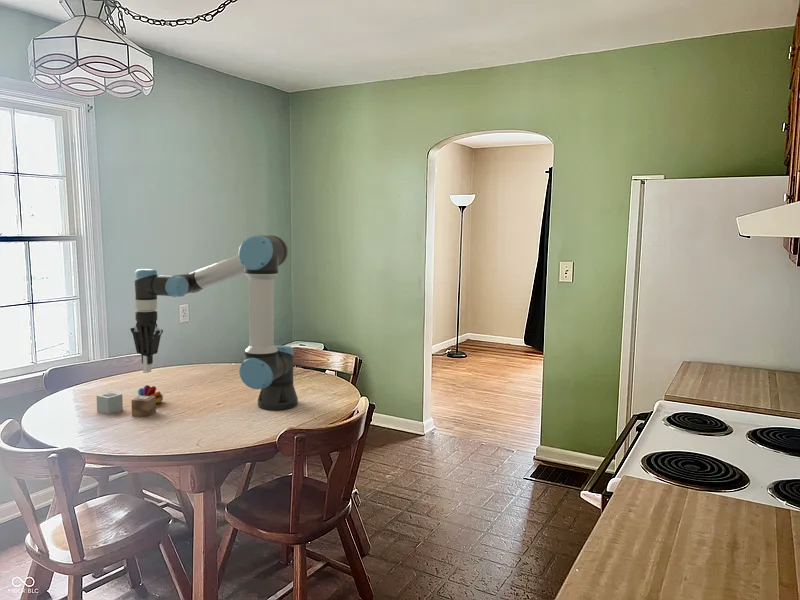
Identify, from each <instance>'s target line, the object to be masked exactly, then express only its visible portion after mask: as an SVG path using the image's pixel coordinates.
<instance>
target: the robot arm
mask: <svg viewBox="0 0 800 600" xmlns="http://www.w3.org/2000/svg"><path fill="white" fill-rule="evenodd" d="M288 255H289V248H288V245H287V243H286V242H285V241H284V239H282V238H281V237H279V236H276V235H262V234H261V235H260V234H259V235H257V234H255V235H253V236H249V237H247V238H246V239H244V241H243V242H241V244H240V246H239V248H238V254H236V255H234V256H231V257H229V258H225V259H223V260H220V261H218V262H216V263H212V264H211V265H210V264H209V265H208V266H205V267H202V268H199V269H196V270H194V271H191V272H189V273H184V274H174V275H160V274H158V273H157V270H156V269H155V268H154V269H153V268H139V269H136V271H135V272H134V280H133V281H134V291H135V297H134V298H135V299H134V301H135V302H134V305H135V306H134V307H135V308H134V309H135V313H134V314H135V321H136V324H135V326H133V327H131V328H130V332H131V334H132V338H133V342H134V346H135V350H136V353H137V354H140V355H141V364H142V373H143V374H148V373H151V372H152V364H153V363H154V362H153V361H154V359H153V357H154V355H156V354H158V352H159V347H160V342H161V336H162V334H163V332H164V329H160V328H159V327H158V324H157V321H158V311H157V309H158V296H161V297H162V296H164V297H172V298H176V297H177V298H179V297H184V296H185V295H187V294H195V293H198V292H201V291H203V290H204V289H206V288H208V287H211V286H214V285H217V284H220V283H223V282H226V281H228V280H231V279H233V278H237V277H239V276H242V275H245V276H246V277H247V278H248V346H247V347H246V348H245V349H244V360H243V361H242V362H241V364H240V366H239V378H240V379H241V381H242V383H243V384H245V386H246V387H248V388H250V389H252V390H253V389H254V390H260V392H259V395H258V398H257V407H259V408H260V409H263V410H268V411H282V410H288V409H293V408H296V407H297V406H298V404H299V399H298V398H299V397H298V395H297V392H296V388H295V386H294V360H295V359H294V358H295V354H294V349H293V347H292V346H290V345H289V346H288V345H277V344H275V342H274V341H275V340H274V339H275V338H274V336H275V335H274V334H275V332H274V329H275V328H274V325H275V324H274V321H275V318H274V317H275V315H274V314H275V313H274V312H275V310H274V308H275V307H274V306H275V304H274V303H275V300H274V299H275V298H274V297H275V295H274V294H275V293H274V291H275V290H274V288H275V286H274V285H275V281H274V280H275V278H276V277H277V276H278V275H279V266H281V265H283V264H285V262H286V261H287V259H288Z"/></svg>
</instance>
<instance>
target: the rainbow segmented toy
mask: <svg viewBox="0 0 800 600" xmlns="http://www.w3.org/2000/svg"><path fill="white" fill-rule="evenodd" d="M138 396H156V404H159V403H161V402H162V401H163V400H164V394H162V393H161V391H157V387H156V386H155V385H153V386H150V385H148V384H146V385H144V386H143V387H141V388H138V390H137V395H136V396H135V397H134V398H136V397H138Z"/></svg>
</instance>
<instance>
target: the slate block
mask: <svg viewBox="0 0 800 600" xmlns="http://www.w3.org/2000/svg"><path fill="white" fill-rule="evenodd" d="M123 403H124V402H123V394H122V393H118V392H113V391H110V392H105V393H102V394H98V395H96V412H97V413H102V414H106V415H110V414H115V413H117V412H120V411H123V410H124V406H123Z"/></svg>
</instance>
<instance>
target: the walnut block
mask: <svg viewBox="0 0 800 600" xmlns="http://www.w3.org/2000/svg"><path fill="white" fill-rule="evenodd" d="M137 396H138V395H137ZM135 397H136V396H135ZM135 397H134V398H133V399H131V417H137V418H139V417H140V418H143V417H144V418H145V417H146V418H149V417H151V416H152V415H154V414H155V413H157V403H156V396H138V397H136V398H135Z"/></svg>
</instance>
